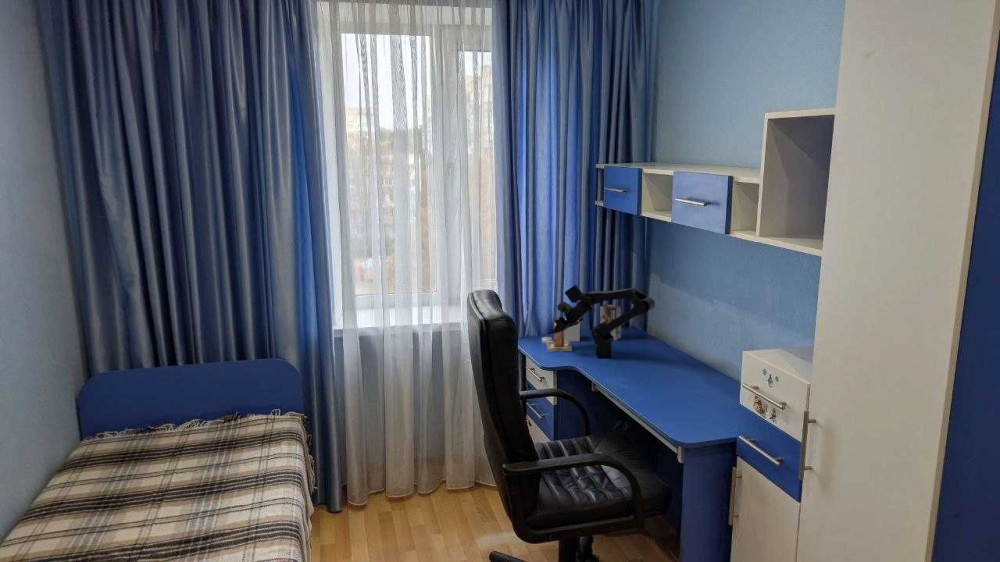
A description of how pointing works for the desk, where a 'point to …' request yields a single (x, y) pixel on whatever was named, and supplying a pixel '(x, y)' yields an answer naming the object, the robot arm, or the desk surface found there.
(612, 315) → the coffee box
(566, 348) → the tray
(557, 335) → the copper cylinder
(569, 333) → the block
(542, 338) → the flattened gray dome
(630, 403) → the desk surface
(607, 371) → the desk surface
